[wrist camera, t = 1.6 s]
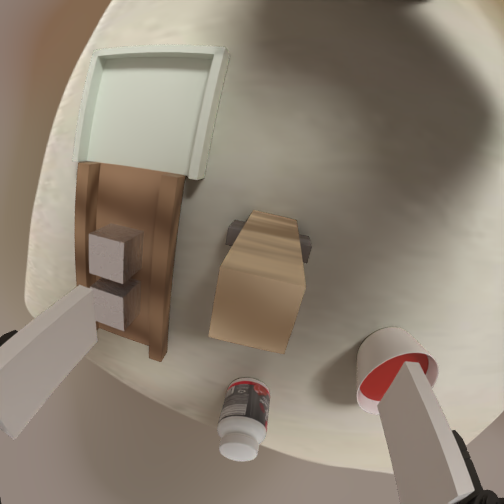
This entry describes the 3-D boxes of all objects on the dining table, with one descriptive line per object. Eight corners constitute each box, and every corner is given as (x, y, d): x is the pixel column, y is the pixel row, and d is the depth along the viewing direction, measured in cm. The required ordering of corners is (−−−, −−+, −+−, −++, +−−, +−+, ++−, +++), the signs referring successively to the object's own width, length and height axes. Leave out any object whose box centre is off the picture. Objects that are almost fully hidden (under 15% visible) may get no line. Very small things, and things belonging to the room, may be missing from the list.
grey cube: (111, 223, 27) (88, 233, 24) (144, 231, 27) (124, 243, 23) (110, 258, 29) (89, 272, 25) (141, 268, 28) (123, 284, 25)
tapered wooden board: (237, 206, 26) (188, 259, 13) (312, 223, 26) (337, 293, 13) (229, 247, 28) (180, 329, 15) (301, 263, 27) (311, 359, 14)
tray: (105, 54, 22) (93, 49, 20) (230, 55, 22) (225, 46, 20) (85, 159, 26) (72, 161, 24) (204, 177, 26) (197, 180, 24)
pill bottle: (277, 398, 34) (272, 461, 24) (240, 408, 35) (228, 466, 26) (258, 371, 32) (248, 436, 23) (220, 382, 34) (201, 442, 24)
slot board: (95, 161, 26) (78, 163, 24) (189, 175, 26) (177, 177, 23) (94, 320, 33) (81, 331, 30) (169, 346, 33) (161, 362, 30)
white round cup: (420, 363, 30) (436, 397, 24) (354, 386, 32) (361, 424, 26) (416, 306, 28) (439, 338, 22) (340, 332, 29) (350, 370, 24)
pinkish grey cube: (109, 271, 29) (89, 286, 25) (141, 280, 29) (123, 297, 25) (110, 302, 31) (92, 319, 27) (140, 312, 30) (124, 331, 27)
